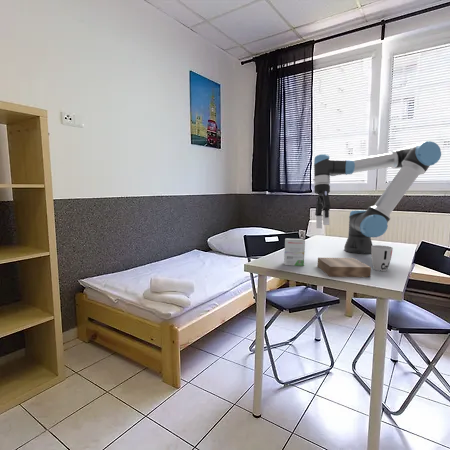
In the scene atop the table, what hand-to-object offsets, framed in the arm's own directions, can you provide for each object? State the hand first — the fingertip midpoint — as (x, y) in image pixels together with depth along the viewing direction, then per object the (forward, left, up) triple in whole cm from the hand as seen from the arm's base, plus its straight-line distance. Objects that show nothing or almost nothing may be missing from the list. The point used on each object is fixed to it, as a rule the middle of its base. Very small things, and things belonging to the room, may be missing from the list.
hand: (322, 226), depth 148 cm
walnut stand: (-1, +25, -16) cm, 29 cm away
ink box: (+17, +14, -16) cm, 27 cm away
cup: (-19, +21, -16) cm, 33 cm away
